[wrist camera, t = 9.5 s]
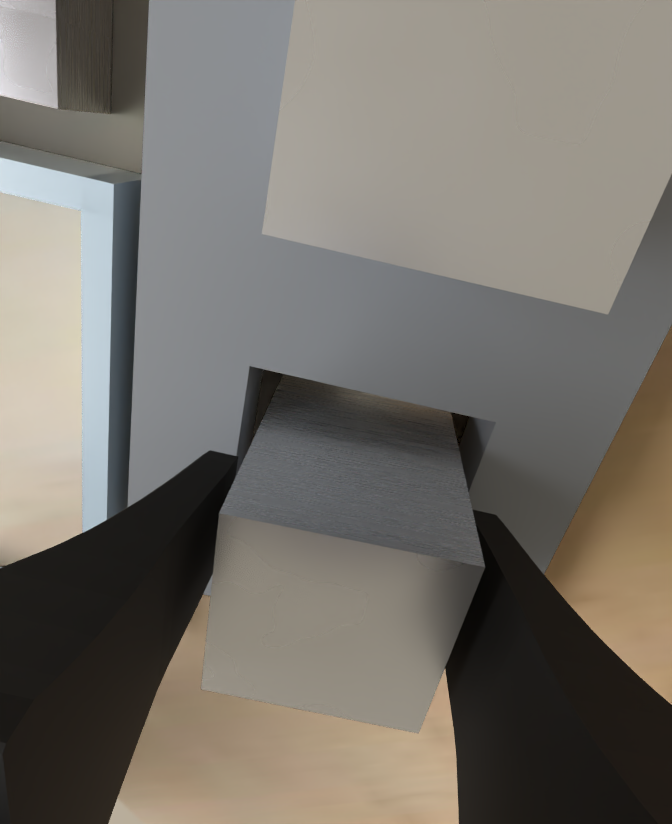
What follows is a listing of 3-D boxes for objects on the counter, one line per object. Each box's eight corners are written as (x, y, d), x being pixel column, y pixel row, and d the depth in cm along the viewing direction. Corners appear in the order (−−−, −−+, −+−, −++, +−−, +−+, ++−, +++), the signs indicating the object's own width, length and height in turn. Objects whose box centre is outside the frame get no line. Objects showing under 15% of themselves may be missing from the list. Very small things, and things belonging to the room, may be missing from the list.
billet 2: (447, 397, 13) (485, 566, 8) (409, 525, 15) (418, 733, 10) (287, 365, 13) (219, 513, 8) (267, 496, 15) (201, 689, 10)
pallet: (487, 602, 16) (500, 660, 14) (154, 527, 16) (124, 576, 14) (814, -101, 9) (920, -161, 7) (210, -249, 9) (163, -350, 7)
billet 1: (506, 233, 12) (607, 314, 6) (320, 190, 11) (261, 234, 6) (584, 4, 10) (822, -161, 4) (364, -48, 10) (334, -282, 4)
